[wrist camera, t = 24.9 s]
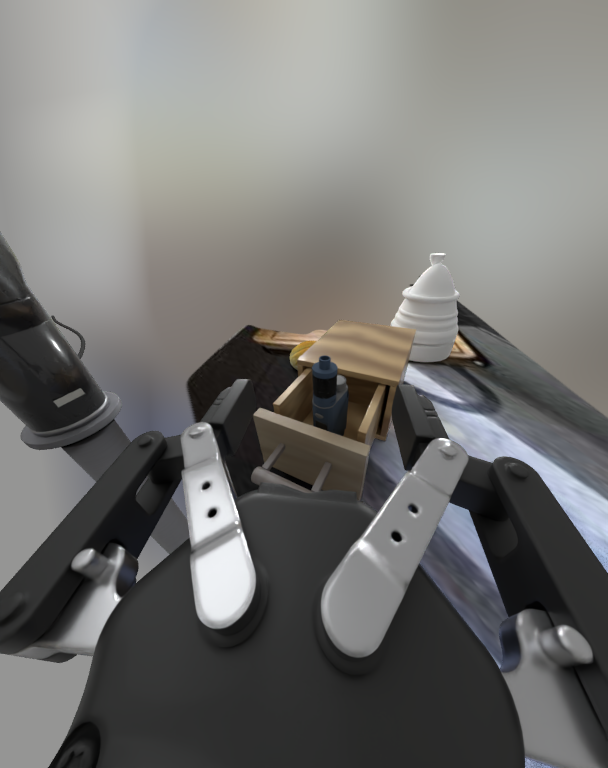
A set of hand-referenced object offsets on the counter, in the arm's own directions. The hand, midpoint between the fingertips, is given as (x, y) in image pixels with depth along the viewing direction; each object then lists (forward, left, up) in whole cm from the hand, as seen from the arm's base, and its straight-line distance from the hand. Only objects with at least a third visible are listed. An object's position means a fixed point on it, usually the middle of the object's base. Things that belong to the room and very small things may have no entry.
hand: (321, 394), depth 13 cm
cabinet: (-3, +21, -16) cm, 26 cm away
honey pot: (+4, +43, -16) cm, 46 cm away
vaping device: (-3, +9, -14) cm, 17 cm away
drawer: (-3, +8, -15) cm, 17 cm away
